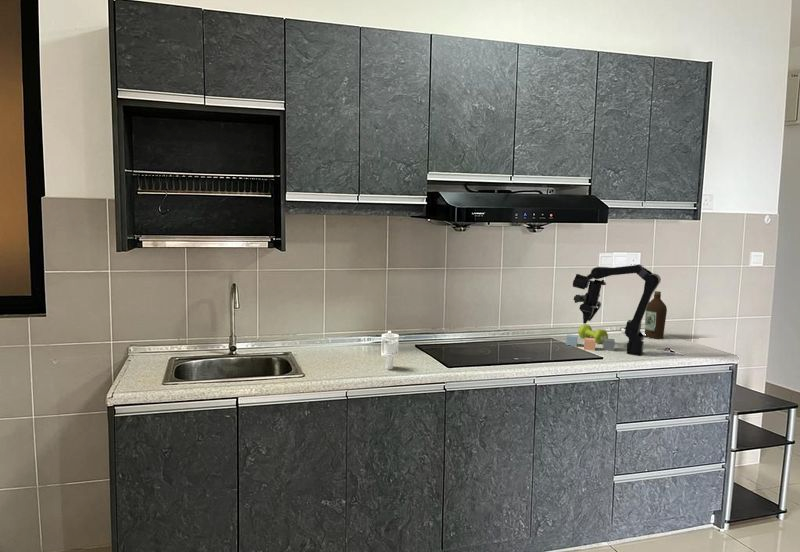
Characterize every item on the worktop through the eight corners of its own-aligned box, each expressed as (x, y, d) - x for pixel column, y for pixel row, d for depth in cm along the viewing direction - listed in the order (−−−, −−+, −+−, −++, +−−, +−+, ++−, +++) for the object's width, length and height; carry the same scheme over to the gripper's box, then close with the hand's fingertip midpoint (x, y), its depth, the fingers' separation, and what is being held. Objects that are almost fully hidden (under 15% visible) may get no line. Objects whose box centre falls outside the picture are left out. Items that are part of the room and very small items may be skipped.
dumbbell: (609, 343, 305) (610, 330, 304) (596, 344, 302) (597, 330, 301) (588, 336, 320) (589, 323, 319) (576, 337, 317) (577, 324, 316)
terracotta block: (594, 348, 293) (595, 338, 293) (594, 350, 289) (595, 340, 288) (584, 347, 295) (584, 337, 294) (583, 349, 290) (584, 339, 290)
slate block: (576, 344, 300) (577, 335, 300) (576, 347, 295) (577, 337, 295) (566, 343, 302) (567, 334, 301) (566, 345, 297) (566, 336, 296)
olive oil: (652, 334, 331) (656, 289, 328) (668, 338, 321) (672, 292, 318) (638, 335, 326) (642, 290, 323) (654, 340, 316) (658, 293, 313)
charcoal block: (613, 349, 294) (614, 339, 293) (613, 351, 289) (614, 341, 288) (602, 348, 295) (603, 338, 295) (602, 350, 290) (603, 340, 290)
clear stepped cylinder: (396, 365, 251) (397, 330, 249) (398, 370, 244) (400, 334, 242) (379, 365, 250) (380, 330, 248) (381, 370, 243) (382, 334, 241)
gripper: (582, 286, 305) (575, 315, 308) (572, 290, 289) (565, 320, 292) (604, 291, 299) (597, 321, 302) (595, 295, 283) (588, 326, 286)
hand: (586, 322), depth 296 cm, fingers open, 9 cm apart
